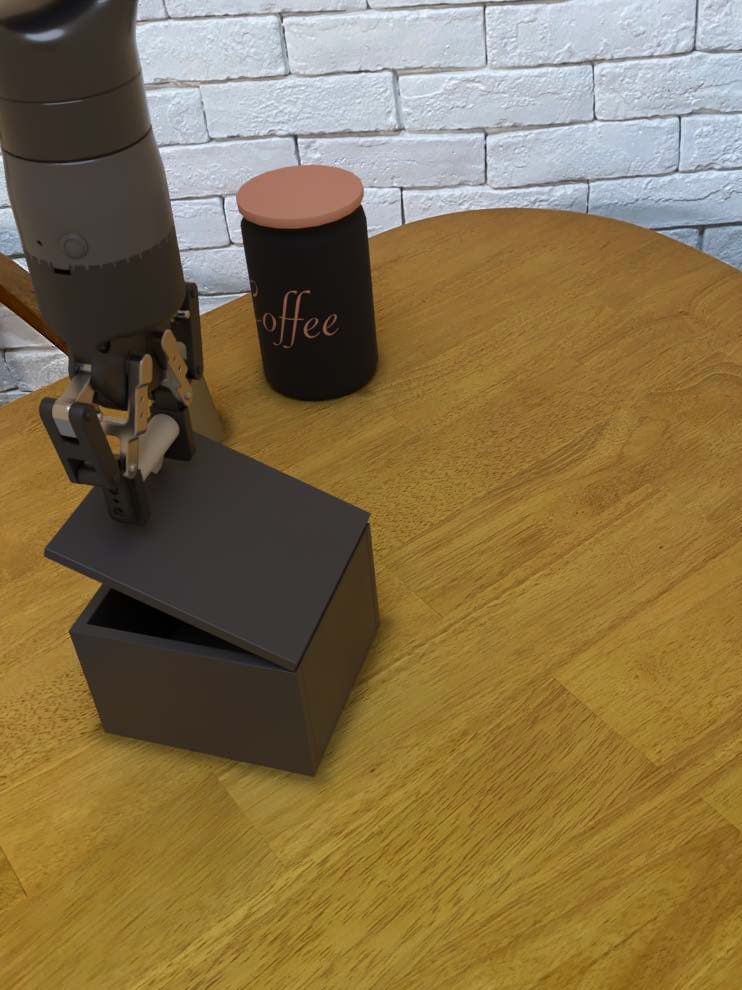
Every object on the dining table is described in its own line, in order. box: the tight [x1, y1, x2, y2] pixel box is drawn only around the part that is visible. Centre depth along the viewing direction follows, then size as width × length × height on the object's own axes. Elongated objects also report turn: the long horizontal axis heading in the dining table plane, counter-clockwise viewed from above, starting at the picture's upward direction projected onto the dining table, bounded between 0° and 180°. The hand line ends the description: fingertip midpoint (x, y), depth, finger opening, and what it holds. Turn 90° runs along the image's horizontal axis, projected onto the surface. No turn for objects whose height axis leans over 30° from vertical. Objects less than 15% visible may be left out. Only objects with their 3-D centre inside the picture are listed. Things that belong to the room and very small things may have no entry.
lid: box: [43, 414, 371, 671], centre depth 67 cm, size 16×14×5 cm
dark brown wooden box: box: [68, 521, 381, 778], centre depth 74 cm, size 15×14×10 cm
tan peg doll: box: [150, 342, 224, 443], centre depth 95 cm, size 6×6×11 cm
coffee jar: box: [235, 164, 379, 402], centre depth 99 cm, size 11×11×18 cm
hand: (155, 486), depth 67 cm, fingers closed on lid, 5 cm apart
